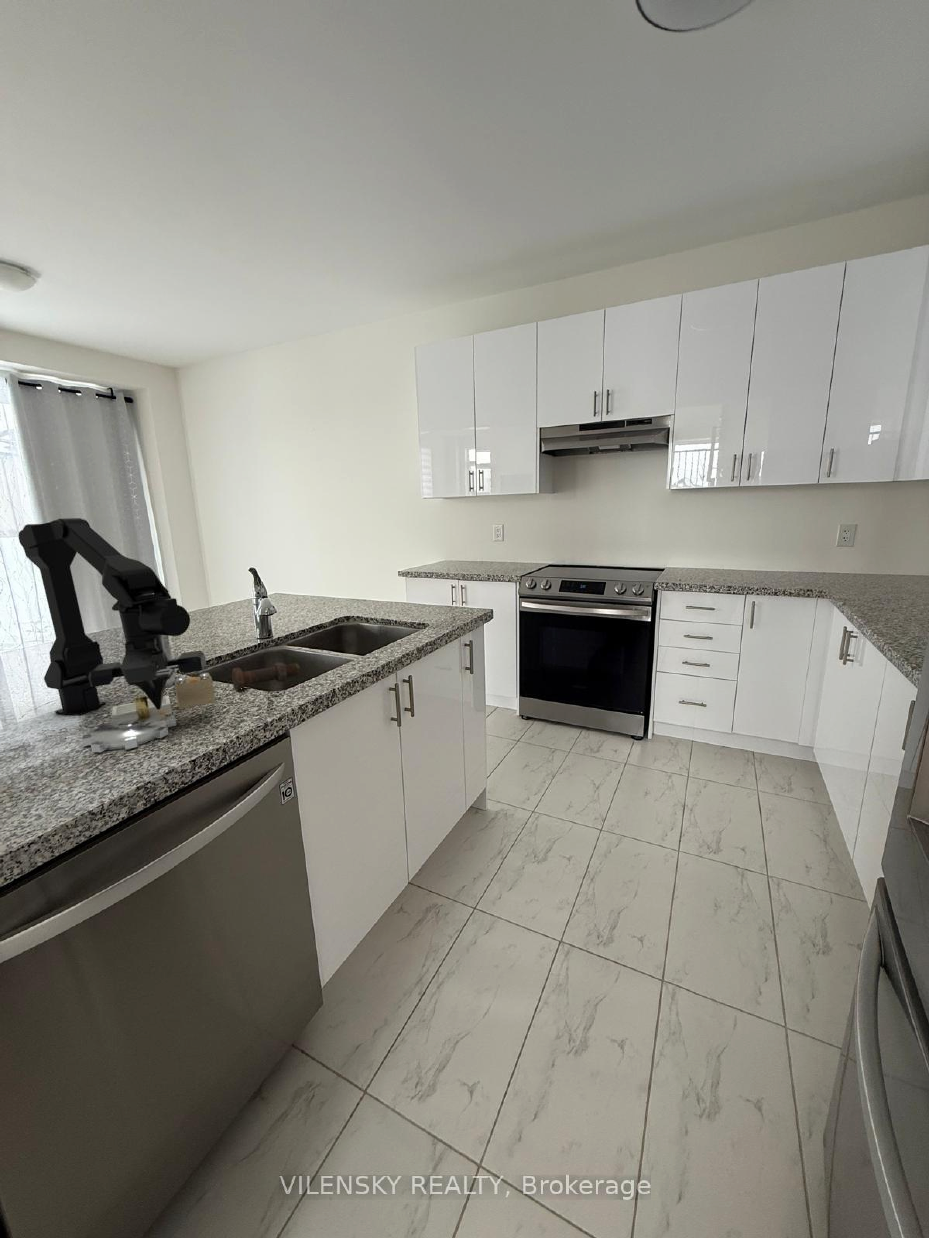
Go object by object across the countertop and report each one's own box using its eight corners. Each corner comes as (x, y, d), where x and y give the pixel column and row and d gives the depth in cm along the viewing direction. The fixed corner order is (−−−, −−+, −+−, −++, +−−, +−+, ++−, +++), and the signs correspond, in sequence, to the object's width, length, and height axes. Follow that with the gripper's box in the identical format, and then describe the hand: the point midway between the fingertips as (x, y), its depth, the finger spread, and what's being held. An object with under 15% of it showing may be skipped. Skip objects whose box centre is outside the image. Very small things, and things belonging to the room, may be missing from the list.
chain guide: (114, 726, 99) (112, 715, 98) (114, 716, 104) (113, 706, 103) (172, 713, 104) (170, 703, 104) (170, 705, 109) (168, 695, 109)
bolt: (300, 683, 126) (236, 696, 117) (294, 670, 129) (231, 681, 120) (302, 667, 122) (237, 679, 114) (296, 653, 125) (232, 664, 117)
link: (179, 709, 106) (174, 681, 105) (178, 705, 109) (173, 677, 108) (215, 702, 110) (211, 674, 109) (213, 697, 113) (209, 671, 112)
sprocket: (63, 755, 86) (56, 724, 85) (116, 721, 101) (111, 694, 99) (149, 750, 87) (143, 719, 86) (190, 717, 101) (185, 690, 100)
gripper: (67, 651, 85) (89, 735, 88) (189, 635, 90) (205, 715, 94) (90, 636, 95) (109, 712, 99) (199, 622, 101) (212, 694, 104)
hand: (159, 708), depth 99 cm, fingers closed
